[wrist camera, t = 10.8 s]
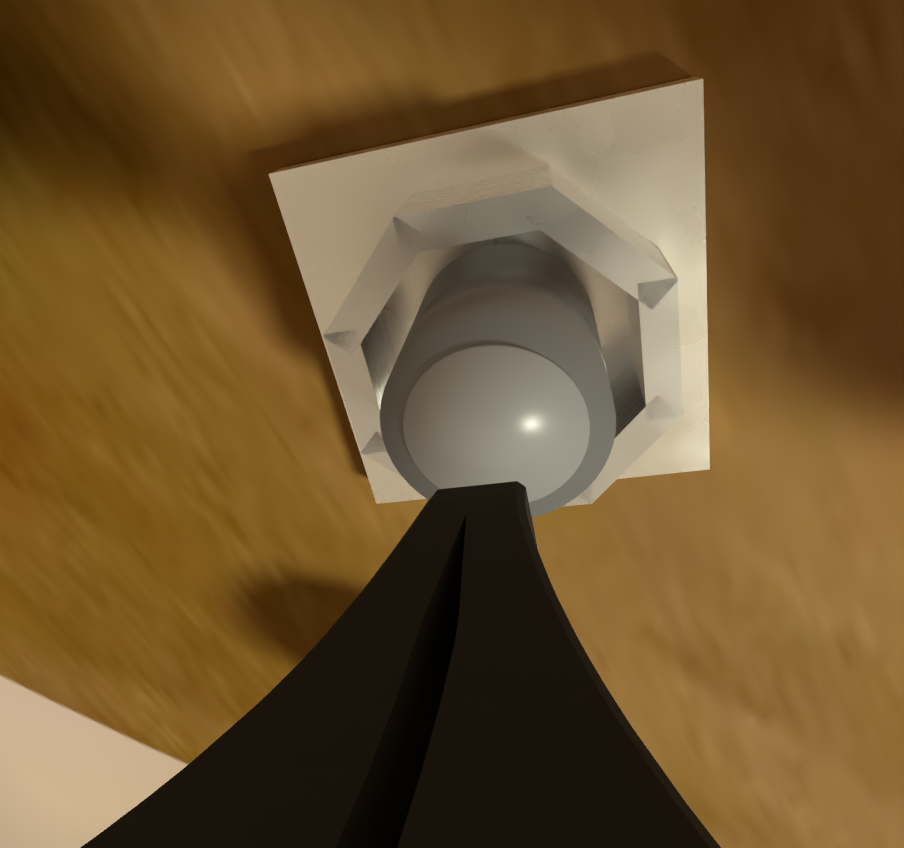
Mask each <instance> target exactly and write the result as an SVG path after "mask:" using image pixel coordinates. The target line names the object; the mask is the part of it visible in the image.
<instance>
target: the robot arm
mask: <svg viewBox="0 0 904 848" xmlns="http://www.w3.org/2000/svg"><path fill="white" fill-rule="evenodd" d="M81 848H721V847H720V846H719V845H718V844H717V842H716V841H715V840H714V838H713V837H712V836H711V835H710V833H709V832H708V831H707V829H706V828H705V827H704V826H703V824H702V823H701V822H700V820H699V819H698V818H697V817H696V815H695V814H694V813H693V811H692V810H691V809H690V808H689V806H688V805H687V804H686V802H685V801H684V800H683V798H682V797H681V795H680V794H679V793H678V791H677V790H676V788H675V787H674V786H673V784H672V783H671V781H670V780H669V779H668V777H667V776H666V774H665V773H664V772H663V770H662V769H661V767H660V766H659V764H658V763H657V762H656V760H655V759H654V757H653V756H652V755H651V753H650V752H649V750H648V749H647V748H646V746H645V745H644V743H643V742H642V741H641V739H640V738H639V736H638V735H637V734H636V732H635V731H634V729H633V728H632V726H631V725H630V723H629V722H628V720H627V719H626V717H625V716H624V714H623V713H622V711H621V709H620V708H619V706H618V705H617V703H616V702H615V700H614V699H613V697H612V695H611V694H610V692H609V691H608V689H607V688H606V686H605V684H604V683H603V681H602V679H601V678H600V676H599V674H598V673H597V671H596V669H595V667H594V666H593V664H592V662H591V661H590V659H589V657H588V656H587V654H586V652H585V650H584V648H583V647H582V645H581V643H580V641H579V639H578V637H577V636H576V634H575V632H574V630H573V628H572V626H571V624H570V622H569V620H568V618H567V616H566V614H565V612H564V610H563V608H562V606H561V604H560V602H559V600H558V598H557V596H556V593H555V591H554V589H553V587H552V585H551V583H550V580H549V578H548V575H547V573H546V570H545V568H544V565H543V563H542V560H541V558H540V555H539V553H538V550H537V544H536V539H535V533H534V528H533V523H532V517H531V512H530V506H529V501H528V496H527V490H526V487H525V486H524V485H522V484H521V483H519V482H518V481H513V482H504V483H494V484H484V485H475V486H465V487H456V488H446V489H438V490H437V491H436V492H435V493H434V494H433V496H432V497H431V498H430V500H429V501H428V502H427V504H426V505H425V507H424V508H423V509H422V511H421V512H420V514H419V515H418V516H417V518H416V519H415V521H414V522H413V524H412V525H411V526H410V528H409V529H408V531H407V532H406V533H405V535H404V536H403V538H402V539H401V540H400V542H399V543H398V544H397V546H396V547H395V549H394V550H393V551H392V553H391V554H390V555H389V557H388V558H387V559H386V561H385V562H384V563H383V564H382V566H381V567H380V568H379V570H378V571H377V572H376V574H375V575H374V576H373V578H372V579H371V580H370V582H369V583H368V584H367V585H366V587H365V588H364V589H363V591H362V592H361V593H360V594H359V596H358V597H357V598H356V599H355V600H354V601H353V603H352V604H351V605H350V606H349V607H348V609H347V610H346V611H345V612H344V613H343V614H342V616H341V617H340V618H339V619H338V620H337V622H336V623H335V624H334V625H333V626H332V627H331V629H330V630H329V631H328V632H327V633H326V635H325V636H324V637H323V638H322V639H321V640H320V641H319V642H318V644H317V645H316V646H315V647H314V648H313V649H312V650H311V651H310V652H309V653H308V654H307V656H306V657H305V658H304V659H303V660H302V661H301V662H300V663H299V664H298V665H297V666H296V667H295V668H294V669H293V670H292V671H291V672H290V673H289V674H288V675H287V676H286V677H285V678H284V679H283V680H282V681H281V682H280V683H279V684H278V685H277V686H276V687H275V688H274V689H273V690H272V691H271V692H270V693H269V694H268V695H267V696H266V697H264V698H263V699H262V700H261V701H260V702H259V703H258V704H257V705H256V706H255V707H254V708H253V709H251V710H250V711H249V712H248V713H247V714H246V715H245V716H244V717H242V718H241V719H240V720H239V721H238V722H237V723H236V724H234V725H233V726H232V727H231V728H230V729H229V730H228V731H226V732H225V733H224V734H223V735H222V736H221V737H220V738H218V739H217V740H216V741H215V742H214V743H213V744H212V745H211V746H209V747H208V748H207V749H206V750H205V751H204V752H203V753H201V754H200V755H199V756H198V757H197V758H196V759H195V760H193V761H192V762H191V763H190V764H189V765H187V766H186V767H185V768H184V769H183V770H181V771H180V772H179V773H178V774H176V775H175V776H174V777H173V778H172V779H170V780H169V781H168V782H166V783H165V784H164V785H163V786H161V787H160V788H159V789H158V790H157V791H155V792H154V793H153V794H152V795H150V796H149V797H148V798H146V799H145V800H144V801H142V802H141V803H140V804H139V805H138V806H136V807H135V808H133V809H132V810H131V811H129V812H128V813H127V814H125V815H124V816H123V817H121V818H120V819H119V820H117V821H116V822H115V823H113V824H112V825H111V826H110V827H108V828H107V829H106V830H104V831H103V832H101V833H100V834H99V835H97V836H96V837H95V838H93V839H92V840H91V841H89V842H88V843H86V844H85V845H84V846H82V847H81Z"/></svg>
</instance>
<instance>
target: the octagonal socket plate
mask: <svg viewBox="0 0 904 848" xmlns="http://www.w3.org/2000/svg"><path fill="white" fill-rule="evenodd" d="M269 177H270V180H271V183H272V186H273V189H274V192H275V195H276V198H277V202H278V205H279V208H280V211H281V214H282V217H283V220H284V223H285V226H286V229H287V232H288V235H289V238H290V241H291V244H292V247H293V250H294V253H295V256H296V259H297V262H298V266H299V269H300V272H301V275H302V278H303V281H304V284H305V287H306V290H307V293H308V296H309V299H310V302H311V305H312V308H313V311H314V314H315V317H316V320H317V323H318V327H319V330H320V333H321V336H322V339H323V342H324V345H325V348H326V351H327V354H328V357H329V360H330V363H331V366H332V369H333V372H334V375H335V378H336V381H337V384H338V387H339V391H340V394H341V397H342V400H343V403H344V406H345V409H346V412H347V415H348V418H349V421H350V424H351V427H352V430H353V433H354V436H355V439H356V442H357V445H358V448H359V452H360V455H361V458H362V461H363V464H364V467H365V470H366V473H367V476H368V479H369V482H370V485H371V488H372V491H373V494H374V497H375V500H376V503H377V504H378V503H388V502H398V501H408V500H417V499H427V498H425V497H424V496H422V495H421V494H419V493H418V492H417V491H416V490H415V489H414V488H413V487H411V486H410V485H409V484H408V482H407V481H406V480H405V479H404V478H403V477H402V476H401V474H400V473H399V472H398V470H397V469H396V467H395V466H394V464H393V463H392V461H391V459H390V457H389V455H388V453H387V450H386V447H385V445H384V442H383V438H382V433H381V428H380V406H381V399H382V395H383V391H384V388H385V385H386V383H387V380H388V378H389V376H390V373H391V371H392V369H393V367H394V364H395V362H396V360H397V358H398V355H399V353H400V351H401V349H402V346H403V344H404V342H405V339H406V337H407V335H408V333H409V330H410V328H411V326H412V324H413V321H414V319H415V317H416V315H417V312H418V310H419V308H420V306H421V303H422V301H423V299H424V297H425V294H426V292H427V290H428V288H429V287H430V285H431V283H432V282H433V280H434V279H435V278H436V276H437V275H438V274H439V273H440V272H441V271H442V270H443V269H444V268H445V267H446V266H447V265H448V264H449V263H451V262H452V261H453V260H455V259H456V258H458V257H459V256H461V255H463V254H465V253H467V252H469V251H472V250H474V249H477V248H480V247H484V246H488V245H494V244H519V245H525V246H530V247H533V248H536V249H539V250H542V251H544V252H546V253H548V254H550V255H552V256H554V257H555V258H557V259H558V260H560V261H561V262H563V263H564V264H565V265H566V266H567V267H568V268H570V269H571V270H572V272H573V273H574V274H575V275H576V276H577V277H578V279H579V280H580V282H581V283H582V285H583V286H584V288H585V290H586V292H587V294H588V296H589V298H590V302H591V305H592V308H593V312H594V317H595V321H596V326H597V330H598V334H599V339H600V343H601V348H602V352H603V356H604V361H605V365H606V370H607V374H608V378H609V383H610V387H611V392H612V396H613V401H614V406H615V413H616V432H615V438H614V443H613V446H612V450H611V453H610V456H609V458H608V460H607V462H606V464H605V466H604V468H603V469H602V471H601V472H600V474H599V475H598V476H597V478H596V479H595V480H594V481H593V482H592V484H591V485H590V486H589V487H588V488H587V489H586V490H585V491H583V492H582V493H581V494H580V495H579V496H578V497H576V498H575V499H573V500H572V501H570V502H569V503H567V504H566V505H564V506H573V505H583V504H593V502H594V501H595V500H596V499H597V498H598V497H599V496H600V495H601V494H602V493H603V492H604V491H605V490H606V489H607V488H608V487H609V486H610V485H611V484H612V483H613V482H614V481H615V480H616V479H621V478H630V477H640V476H650V475H659V474H669V473H679V472H688V471H698V470H708V469H710V459H709V397H708V335H707V274H706V212H705V150H704V89H703V78H697V77H690V78H686V79H681V80H677V81H672V82H668V83H663V84H659V85H654V86H650V87H645V88H640V89H636V90H631V91H627V92H622V93H618V94H613V95H609V96H604V97H600V98H595V99H591V100H586V101H582V102H577V103H573V104H568V105H563V106H559V107H554V108H550V109H545V110H541V111H536V112H532V113H527V114H523V115H518V116H514V117H509V118H505V119H500V120H495V121H491V122H486V123H482V124H477V125H473V126H468V127H464V128H459V129H455V130H450V131H446V132H441V133H437V134H432V135H427V136H423V137H418V138H414V139H409V140H405V141H400V142H396V143H391V144H387V145H382V146H378V147H373V148H369V149H364V150H359V151H355V152H350V153H346V154H341V155H337V156H332V157H328V158H323V159H319V160H314V161H310V162H305V163H301V164H296V165H292V166H287V167H282V168H280V169H278V170H276V171H274V172H272V173H270V174H269Z"/></svg>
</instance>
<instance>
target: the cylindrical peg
mask: <svg viewBox="0 0 904 848" xmlns="http://www.w3.org/2000/svg"><path fill="white" fill-rule="evenodd" d="M380 428H381V433H382V438H383V442H384V445H385V447H386V450H387V453H388V455H389V457H390V459H391V461H392V463H393V464H394V466H395V467H396V469H397V470H398V472H399V473H400V474H401V476H402V477H403V478H404V479H405V480H406V481H407V482H408V484H409V485H410V486H411V487H413V488H414V489H415V490H416V491H417V492H418V493H419V494H421V495H422V496H424V497H425V498H427V499H428V500H430V498H431V497H432V496H433V494H434V493H435V492H436V491H437V490H438V489H446V488H456V487H465V486H475V485H484V484H494V483H504V482H513V481H518V482H519V483H521V484H522V485H524V486H525V487H526V490H527V496H528V501H529V506H530V512H531V517H536V516H540V515H543V514H546V513H548V512H551V511H554V510H556V509H558V508H560V507H562V506H564V505H566V504H567V503H569V502H570V501H572V500H573V499H575V498H576V497H578V496H579V495H580V494H581V493H582V492H583V491H585V490H586V489H587V488H588V487H589V486H590V485H591V484H592V482H593V481H594V480H595V479H596V478H597V476H598V475H599V474H600V472H601V471H602V469H603V468H604V466H605V464H606V462H607V460H608V458H609V456H610V453H611V450H612V446H613V443H614V438H615V432H616V413H615V406H614V401H613V396H612V392H611V387H610V383H609V378H608V374H607V370H606V365H605V361H604V356H603V352H602V348H601V343H600V339H599V334H598V330H597V326H596V321H595V317H594V312H593V308H592V305H591V302H590V298H589V296H588V294H587V292H586V290H585V288H584V286H583V285H582V283H581V282H580V280H579V279H578V277H577V276H576V275H575V274H574V273H573V272H572V270H571V269H570V268H568V267H567V266H566V265H565V264H564V263H563V262H561V261H560V260H558V259H557V258H555V257H554V256H552V255H550V254H548V253H546V252H544V251H542V250H539V249H536V248H533V247H530V246H525V245H519V244H494V245H488V246H484V247H480V248H477V249H474V250H472V251H469V252H467V253H465V254H463V255H461V256H459V257H458V258H456V259H455V260H453V261H452V262H451V263H449V264H448V265H447V266H446V267H445V268H444V269H443V270H442V271H441V272H440V273H439V274H438V275H437V276H436V278H435V279H434V280H433V282H432V283H431V285H430V287H429V288H428V290H427V292H426V294H425V297H424V299H423V301H422V303H421V306H420V308H419V310H418V312H417V315H416V317H415V319H414V321H413V324H412V326H411V328H410V330H409V333H408V335H407V337H406V339H405V342H404V344H403V346H402V349H401V351H400V353H399V355H398V358H397V360H396V362H395V364H394V367H393V369H392V371H391V373H390V376H389V378H388V380H387V383H386V385H385V388H384V391H383V395H382V399H381V406H380Z"/></svg>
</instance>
